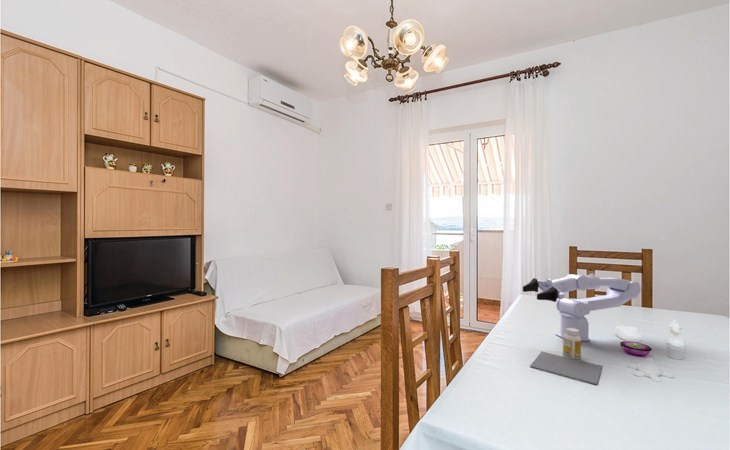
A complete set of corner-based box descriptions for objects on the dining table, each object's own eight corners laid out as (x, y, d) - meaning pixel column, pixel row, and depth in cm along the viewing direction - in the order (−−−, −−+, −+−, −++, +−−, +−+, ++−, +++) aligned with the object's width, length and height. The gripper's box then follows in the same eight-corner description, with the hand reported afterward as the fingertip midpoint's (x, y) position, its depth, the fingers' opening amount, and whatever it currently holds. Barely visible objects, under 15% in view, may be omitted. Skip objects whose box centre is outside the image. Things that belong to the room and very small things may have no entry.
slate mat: (541, 352, 121) (541, 351, 121) (602, 366, 109) (602, 365, 109) (530, 367, 109) (530, 365, 109) (596, 385, 97) (596, 383, 97)
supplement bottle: (579, 355, 119) (580, 328, 119) (582, 361, 114) (582, 332, 114) (562, 352, 121) (562, 326, 121) (563, 358, 116) (564, 330, 116)
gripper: (545, 270, 140) (517, 276, 137) (574, 284, 127) (544, 291, 124) (544, 286, 142) (517, 292, 139) (573, 300, 128) (543, 308, 125)
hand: (530, 292), depth 131 cm, fingers open, 7 cm apart
